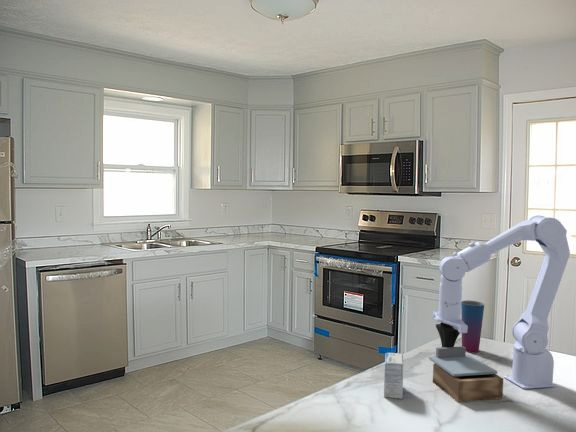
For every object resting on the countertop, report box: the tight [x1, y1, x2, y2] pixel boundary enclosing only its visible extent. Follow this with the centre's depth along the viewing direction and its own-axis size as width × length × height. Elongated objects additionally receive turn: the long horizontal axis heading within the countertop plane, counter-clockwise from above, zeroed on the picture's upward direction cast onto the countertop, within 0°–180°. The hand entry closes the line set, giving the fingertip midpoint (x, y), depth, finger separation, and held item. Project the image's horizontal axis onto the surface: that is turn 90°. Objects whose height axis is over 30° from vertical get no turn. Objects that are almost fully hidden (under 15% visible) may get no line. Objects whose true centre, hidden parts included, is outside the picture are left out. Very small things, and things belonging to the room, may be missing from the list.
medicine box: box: [383, 352, 404, 400], centre depth 124 cm, size 8×4×9 cm, turn 168°
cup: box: [461, 299, 485, 354], centre depth 157 cm, size 7×7×15 cm
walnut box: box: [432, 363, 504, 403], centre depth 126 cm, size 12×12×5 cm
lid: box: [428, 345, 498, 376], centre depth 128 cm, size 12×12×3 cm
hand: (447, 351), depth 135 cm, fingers closed
